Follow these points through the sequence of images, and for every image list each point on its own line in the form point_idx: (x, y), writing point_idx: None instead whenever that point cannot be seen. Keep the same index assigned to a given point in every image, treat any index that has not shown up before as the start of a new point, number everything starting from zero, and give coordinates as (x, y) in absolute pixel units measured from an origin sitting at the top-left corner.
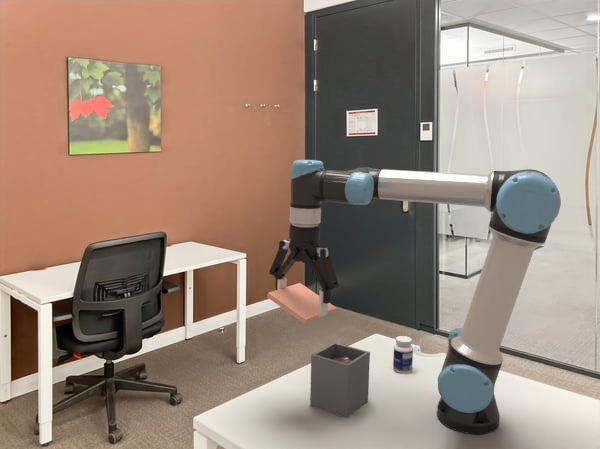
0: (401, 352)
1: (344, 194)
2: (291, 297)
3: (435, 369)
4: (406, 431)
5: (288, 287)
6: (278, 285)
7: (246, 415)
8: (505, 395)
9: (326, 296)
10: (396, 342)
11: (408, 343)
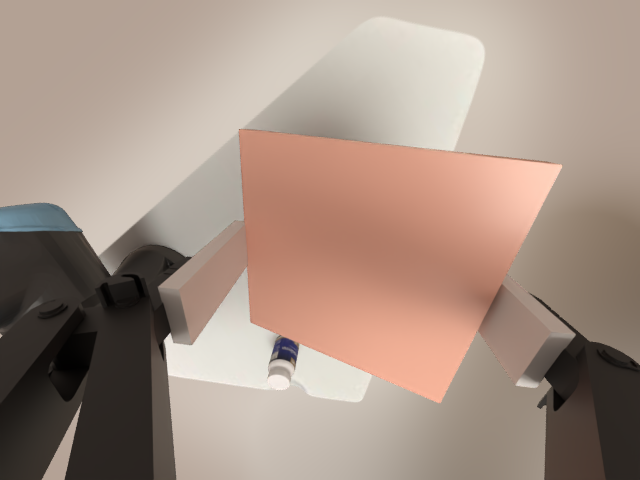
0: (278, 358)
1: None
2: (396, 252)
3: (257, 358)
4: (196, 212)
5: (465, 332)
6: (531, 302)
7: (410, 110)
8: (168, 339)
9: (164, 278)
10: (286, 373)
11: (268, 375)
